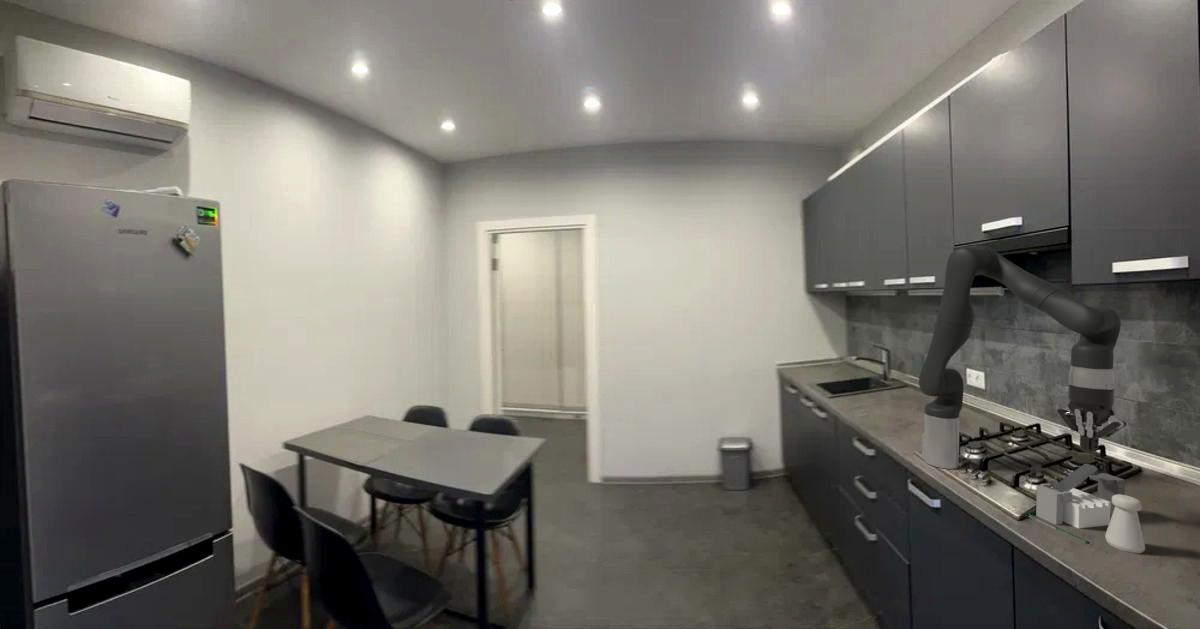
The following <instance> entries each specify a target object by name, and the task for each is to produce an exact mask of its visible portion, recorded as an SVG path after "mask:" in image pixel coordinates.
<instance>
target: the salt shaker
mask: <svg viewBox="0 0 1200 629" xmlns="http://www.w3.org/2000/svg"><path fill="white" fill-rule="evenodd" d="M1112 503H1113V505H1115V508H1114V511H1113V514H1112V515H1111V516H1110V523H1109V525H1107V529H1106V532H1105V534H1104V536H1105V541H1106V543H1108V544H1109V545H1110V546H1111V547H1113V548H1116V549H1118V550H1121V551H1124V552H1126V553H1132V554H1141V553H1143V552H1145V550H1146V546H1145V540H1144V537H1143V536H1144V535H1143V531H1142V527H1141V523H1140V519H1139V514H1138V513H1139V511H1141V510H1142V508H1143V507H1142V506H1143V505H1142V502H1141V500H1139V499H1137V498H1135V497H1132V496H1129V495H1127V494H1126V495H1121V494H1116V495H1113V496H1112Z"/></svg>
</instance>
